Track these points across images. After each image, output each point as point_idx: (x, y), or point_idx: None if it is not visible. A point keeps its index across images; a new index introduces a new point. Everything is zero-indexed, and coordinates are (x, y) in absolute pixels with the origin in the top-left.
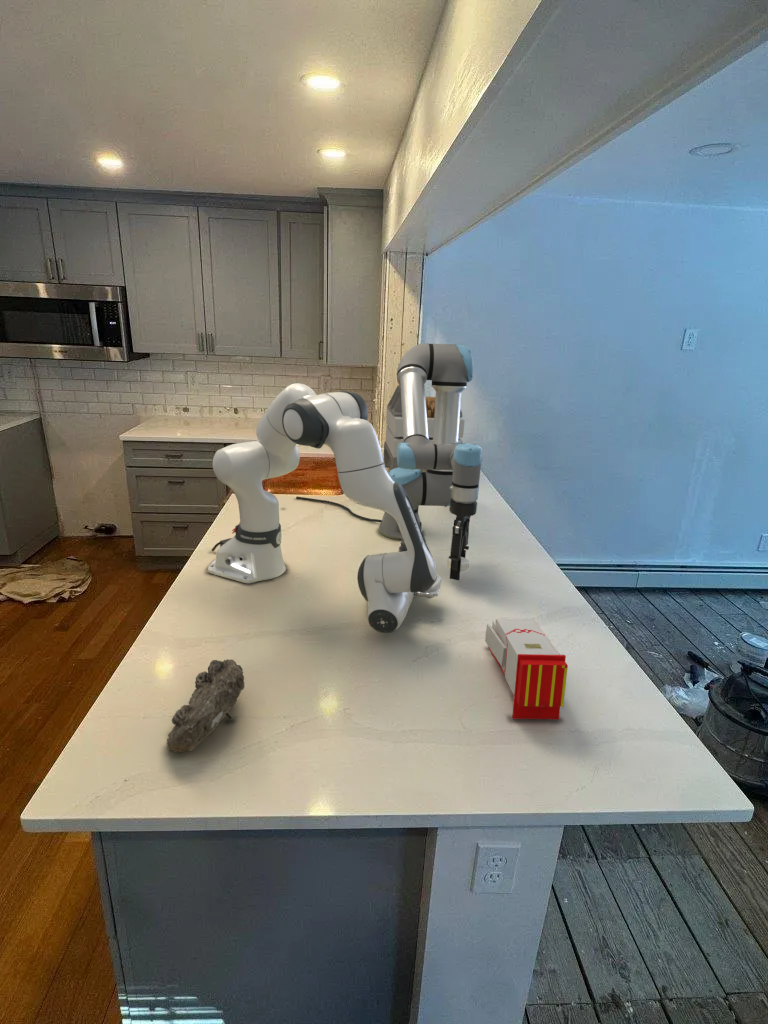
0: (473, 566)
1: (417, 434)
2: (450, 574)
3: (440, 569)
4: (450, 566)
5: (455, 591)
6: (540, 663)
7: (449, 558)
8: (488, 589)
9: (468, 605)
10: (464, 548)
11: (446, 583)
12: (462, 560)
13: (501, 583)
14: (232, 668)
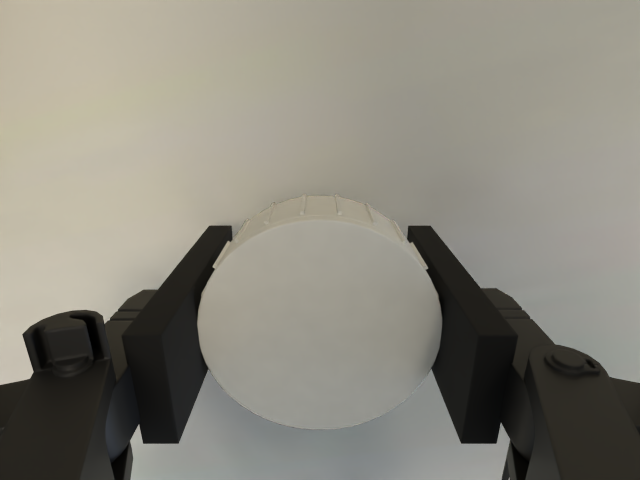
0: (599, 306)
1: None
2: (198, 244)
3: (475, 75)
4: (219, 256)
5: (149, 270)
6: None
7: (330, 233)
8: (281, 430)
9: (24, 369)
10: (510, 442)
11: (236, 186)
12: (335, 373)
13: (389, 475)
14: None
